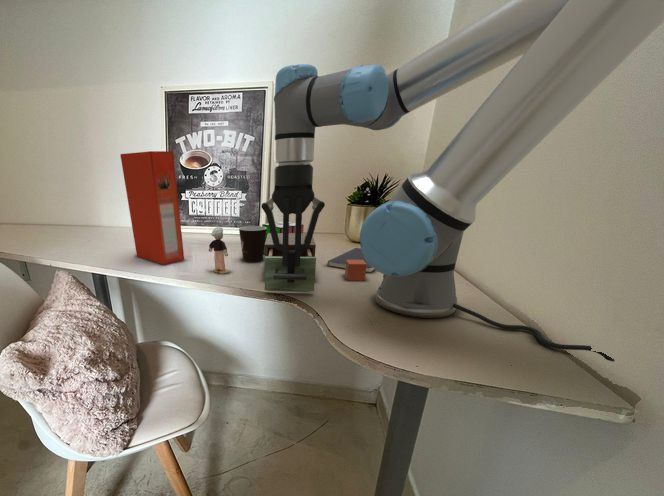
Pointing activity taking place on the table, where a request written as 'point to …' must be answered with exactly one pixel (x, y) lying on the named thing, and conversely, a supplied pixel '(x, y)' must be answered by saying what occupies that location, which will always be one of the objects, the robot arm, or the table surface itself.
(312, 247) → the cabinet
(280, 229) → the puzzle cube
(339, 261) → the notebook
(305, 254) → the drawer
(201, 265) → the table surface
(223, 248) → the grandmother figurine
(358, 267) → the block
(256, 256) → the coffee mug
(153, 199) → the file binder
